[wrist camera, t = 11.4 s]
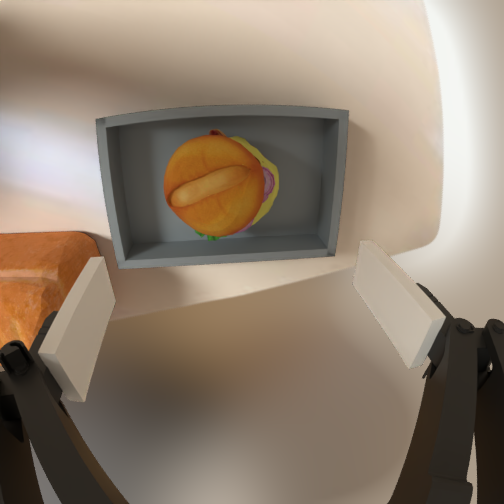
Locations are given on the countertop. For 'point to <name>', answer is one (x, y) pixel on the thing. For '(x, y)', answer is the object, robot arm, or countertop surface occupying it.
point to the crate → (231, 124)
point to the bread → (38, 278)
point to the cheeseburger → (219, 184)
